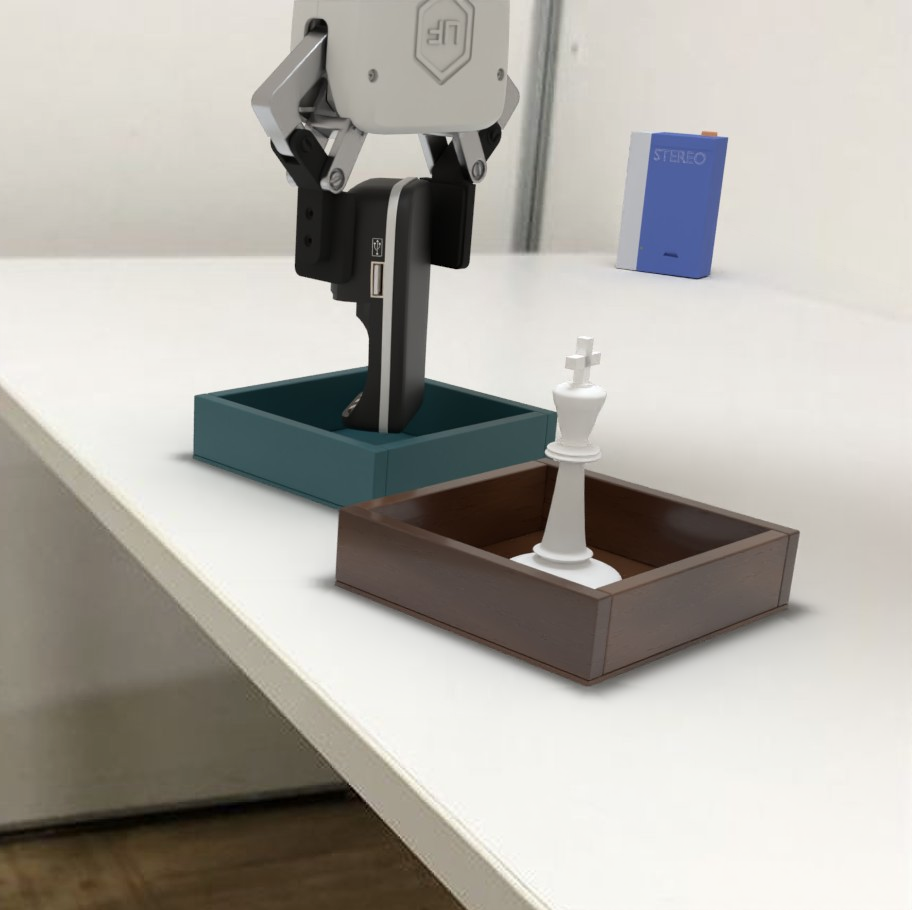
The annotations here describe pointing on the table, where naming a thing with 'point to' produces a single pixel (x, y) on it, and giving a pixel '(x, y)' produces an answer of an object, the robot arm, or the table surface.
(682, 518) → the walnut tray
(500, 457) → the teal tray
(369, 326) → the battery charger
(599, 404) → the chess piece
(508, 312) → the table surface
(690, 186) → the walkman
